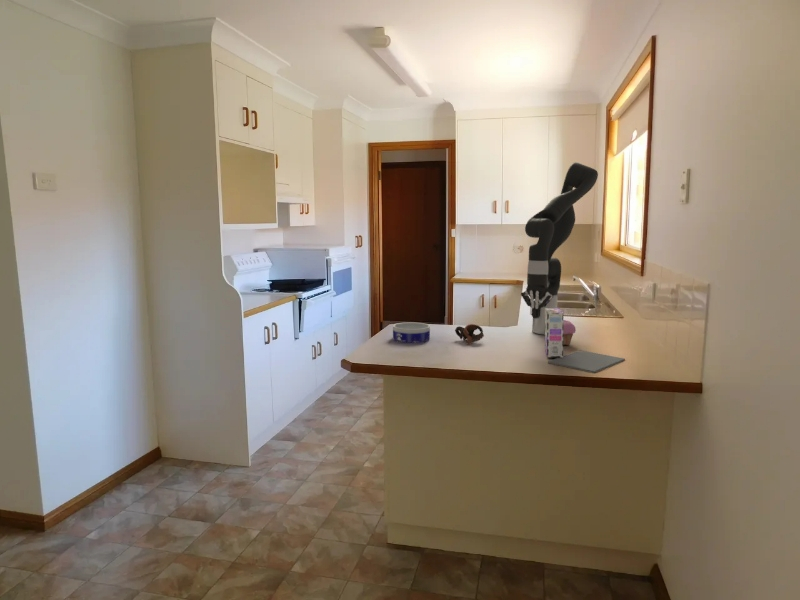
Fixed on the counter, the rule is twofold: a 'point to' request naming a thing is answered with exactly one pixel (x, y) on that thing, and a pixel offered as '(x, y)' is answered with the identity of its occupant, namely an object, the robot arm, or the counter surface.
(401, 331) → the dog bowl
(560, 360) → the mat
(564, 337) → the cupcake
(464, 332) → the brown curled figurine
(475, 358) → the counter surface
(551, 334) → the candy box
